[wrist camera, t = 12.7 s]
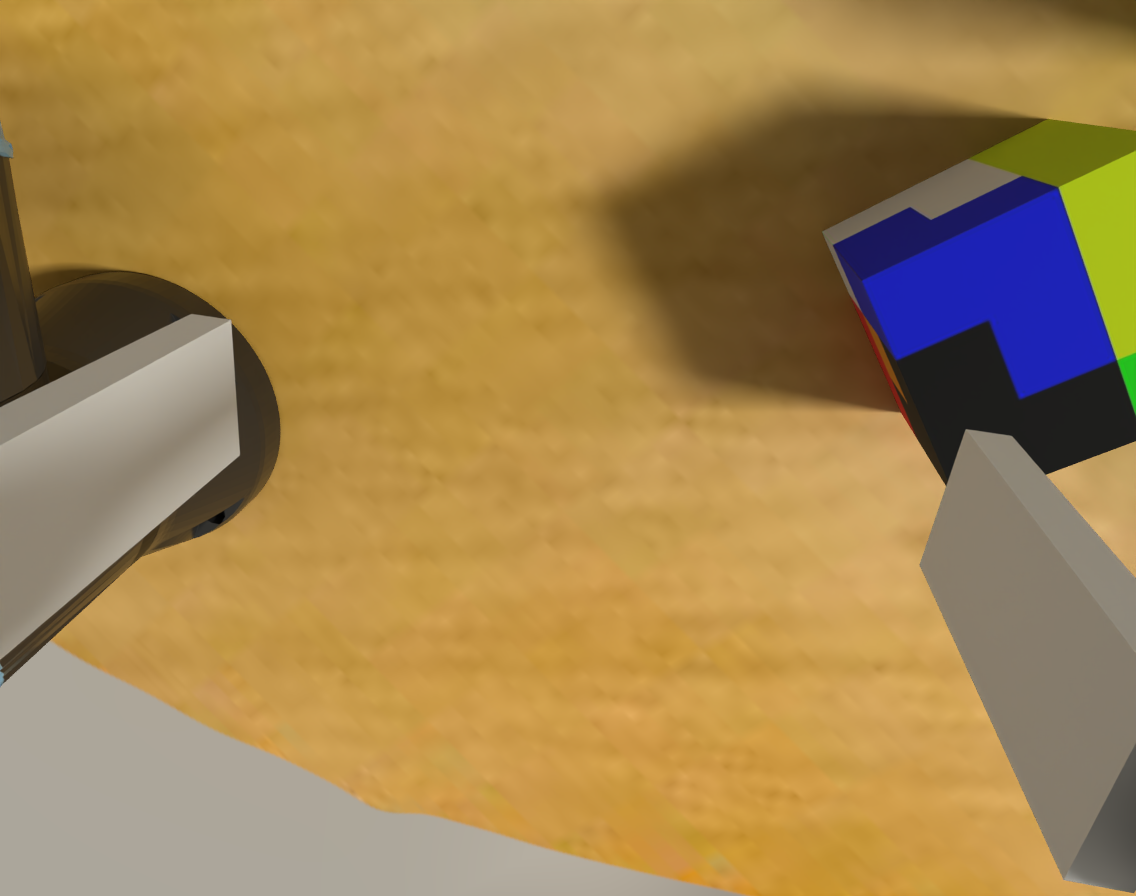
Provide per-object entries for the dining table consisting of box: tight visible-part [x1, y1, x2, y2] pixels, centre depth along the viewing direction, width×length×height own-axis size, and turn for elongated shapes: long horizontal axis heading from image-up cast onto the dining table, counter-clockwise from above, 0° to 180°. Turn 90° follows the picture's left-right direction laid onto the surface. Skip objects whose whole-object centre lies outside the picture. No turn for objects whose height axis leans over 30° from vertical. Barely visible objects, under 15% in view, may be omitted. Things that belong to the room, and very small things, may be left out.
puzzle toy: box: [822, 119, 1136, 486], centre depth 34 cm, size 10×10×10 cm
